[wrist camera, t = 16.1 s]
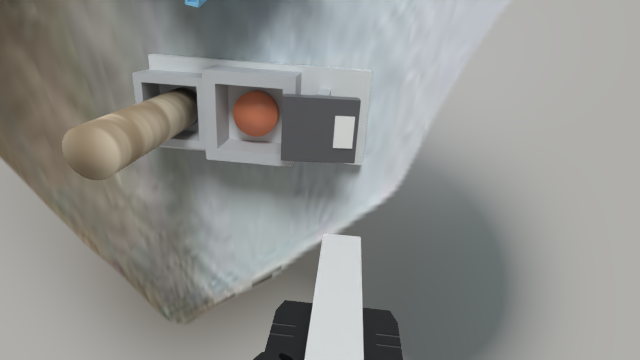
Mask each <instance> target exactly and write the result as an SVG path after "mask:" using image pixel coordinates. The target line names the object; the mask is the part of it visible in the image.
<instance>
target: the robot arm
mask: <svg viewBox="0 0 640 360" xmlns="http://www.w3.org/2000/svg"><path fill="white" fill-rule="evenodd" d="M253 360H403V358H402V350H401V343H400V338H399V329H398V323H397V321H396V320H395V318H394V317H393V315H392V314H391V312H390V311H388V310H379V309H369V308H362V276H361V239H360V237H355V236H345V235H335V234H325V233H323V240H322V246H321V253H320V260H319V266H318V273H317V279H316V286H315V293H314V299H313V303H305V302H296V301H286V300H285V301H284V302H283V303H282V304H281V305H280V306H279V307H278V309H277V310H276V312H275V316H274V320H273V324H272V327H271V330H270V335H269V338H268V341H267V345H266V349H265V352H262V353H260V354H259V355H258V356H257V357H255V358H254V359H253Z"/></svg>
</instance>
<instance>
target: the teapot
mask: <svg viewBox="0 0 640 360" xmlns="http://www.w3.org/2000/svg"><path fill="white" fill-rule="evenodd" d="M206 1H207V0H185V5H189V6H193V7H198V8H199V7H200V6H202V5H203V4H204V3H205V2H206Z"/></svg>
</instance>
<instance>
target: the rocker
mask: <svg viewBox="0 0 640 360" xmlns="http://www.w3.org/2000/svg"><path fill="white" fill-rule="evenodd" d="M360 105H361V100H360V99H359V98H357V97H338V96H320V95H301V94H283V97H282V134H281V161H306V162H331V163H354V162H355V153H356V143H357V134H358V124H359V115H360Z"/></svg>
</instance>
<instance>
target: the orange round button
mask: <svg viewBox="0 0 640 360" xmlns="http://www.w3.org/2000/svg"><path fill="white" fill-rule="evenodd" d="M233 118H234V121H235V123H236V125H237V127H238V128H239V129H240V130H241V131H242V132H244V133H245V134H247V135H250V136H254V137H259V136H264V135H266V134H268V133H269V132H270V131H271V130H272V129H273V128H274V127H275V125H276V124H277V122H278V119H279V107H278V105H277V102H276V101H275V99H274V98H273V97H272V96H271V95H269V94H268V93H266V92H264V91H260V90H253V91H249V92H247V93H245V94H244V95H242V96H241V97H239V98H238V99H237V101H236V102H235V104H234V107H233Z"/></svg>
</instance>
